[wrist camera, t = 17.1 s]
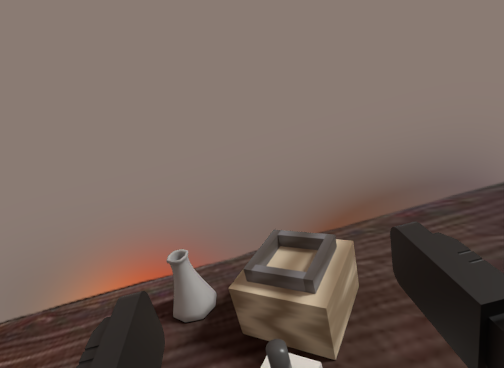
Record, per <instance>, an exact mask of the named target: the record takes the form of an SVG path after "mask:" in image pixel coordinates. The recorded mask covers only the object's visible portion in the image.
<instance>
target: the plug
mask: <svg viewBox="0 0 504 368" xmlns="http://www.w3.org/2000/svg"><path fill="white" fill-rule="evenodd" d="M266 353H267V356H266V358H265V360H264V362H263V364H262V366H261V368H322V364H321V362H319V361H315V360H312V359H308V358H305V357H301V356H298V355H294V354H291V353H288V350H287V346H286V343H285V342H284V341H283V340H281V339H273V340H271V341H270V342H269V343H268V344H267V345H266Z"/></svg>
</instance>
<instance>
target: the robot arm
mask: <svg viewBox="0 0 504 368" xmlns="http://www.w3.org/2000/svg"><path fill="white" fill-rule="evenodd" d="M390 237H391V250H392V263H393V271H394V274H395V277H396V279H397V281H398V283H399V284H400V286H401V287H402V288H403V290H404V291H405V292H406V293H407V295H408V296H409V297H410V298H411V299H412V301H413V302H414V303H415V304H416V305H417V307H418V308H419V309H420V310H421V311H422V313H423V314H424V315H425V316H426V317H427V319H428V320H429V321H430V322H431V323H432V325H433V326H434V327H435V328H436V329H437V331H438V332H439V333H440V334H441V335H442V337H443V338H444V339H445V340H446V341H447V343H448V344H449V345H450V346H451V347H452V349H453V350H454V351H455V352H456V353H457V355H458V356H459V357H460V358H461V359H462V361H463V362H464V363H465V364H466V365H467V367H468V368H504V274H503V273H502V272H501V271H499V270H498V269H496V268H495V267H494V266H492V265H491V264H490V263H488V262H487V261H485V260H484V261H483V260H482V258H481V257H480V256H479V255H477V254H476V253H475V252H471V251H470V249H469V248H468V247H466V246H465V245H464V244H462V243H461V242H459V241H458V240H457V239H454V238H452V237H449V236H446V235H444V234H441V233H439V232H438V233H434V234H433V233H431V232H430V231H429V230H427V229H426V228H425V227H424V226H422V225H421V224H420V223H418V222H411V223H408V224H404V225H400V226H396V227H392V228H391V231H390ZM164 346H165V339H164V332H163V328H162V325H161V323H160V321H159V318H158V316H157V314H156V312H155V309H154V307H153V305H152V302H151V300H150V298H149V296H148V294H147V293H146V292H145V291H141V292H138V293H134V294H130V295H126V296H122V297H120V298H119V299H118V301H117V303H116V305H115V308H114V310H113V313H112V315H111V317H107V318H104V320H103V321H102V322H101V323H100V324H99V326H98V327H97V328H96V329H95V330H94V331H93V333H92V334H91V337H90V339H89V341H88V343H87V345H86V348H85V352H83V354H82V356H81V358H80V361H79V365H78V366H77V367H76V368H161V364H162V358H163V352H164Z"/></svg>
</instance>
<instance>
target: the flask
mask: <svg viewBox="0 0 504 368" xmlns="http://www.w3.org/2000/svg"><path fill="white" fill-rule="evenodd" d="M167 263H169V264H170V265H171V268H172V270H173V277H174V305H173V317H174V318H176V319H179V320H181V321H183V322H185V323H186V322H190V321H195V320H200V319H204V318H205V317H206V316H207V315H208V313H209V312H210V311H211V310H212V309H213V308H214V307H215V306H216V296H217V293H216V292H215V291H214V290H213V289H212V288H211V287H210V286H209V285H208V284H207V283H206V282H205V281H204V280H203V279H202V278H201V277H200V275H199V274H198V273H197V272H196V271H195V270H194V268H193V267H192V265H191V263H190V262H189V259H188V251H187V250H183V249H181V250H176V251H174V252H172V253H171V254H170V255H168V258H167Z"/></svg>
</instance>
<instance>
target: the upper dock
mask: <svg viewBox="0 0 504 368" xmlns="http://www.w3.org/2000/svg"><path fill="white" fill-rule="evenodd" d="M358 287H359V283H358V275H357V267H356V259H355V251H354V244H353V241H349V240H338V239H336V237H335V235H331V234H319V233H307V232H294V231H283V230H273V231H272V233H271V234H270V235H269V237H268V238H267V239H266V240H265V242H264V243H263V244H262V246H261V247H260V248H259V249H258V251H257V252H256V253H255V255H254V256H253V257H252V259H251V260H250V261H249V262H248V264H247V265H246V266H245V268H244V269H243V270H242V272H241V273H240V274H239V275H238V277H237V278H236V279H235V281H234V282H233V283H232V284H231V286H230V287H229V292H230V295H231V298H232V301H233V304H234V307H235V311H236V314H237V317H238V320H239V323H240V326H241V329H242V333H243V334H246V335H249V336H253V337H256V338H260V339H263V340H267V341H271V340H273V339H281V340H283V341H284V342H285V343H286V346H288V347H291V348H295V349H298V350H302V351H305V352H308V353H312V354H315V355H319V356H322V357H326V358H329V359H333V360H336V357H337V354H338V351H339V348H340V345H341V341H342V338H343V335H344V332H345V329H346V326H347V322H348V319H349V316H350V313H351V310H352V306H353V303H354V300H355V297H356V294H357V290H358Z"/></svg>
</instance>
